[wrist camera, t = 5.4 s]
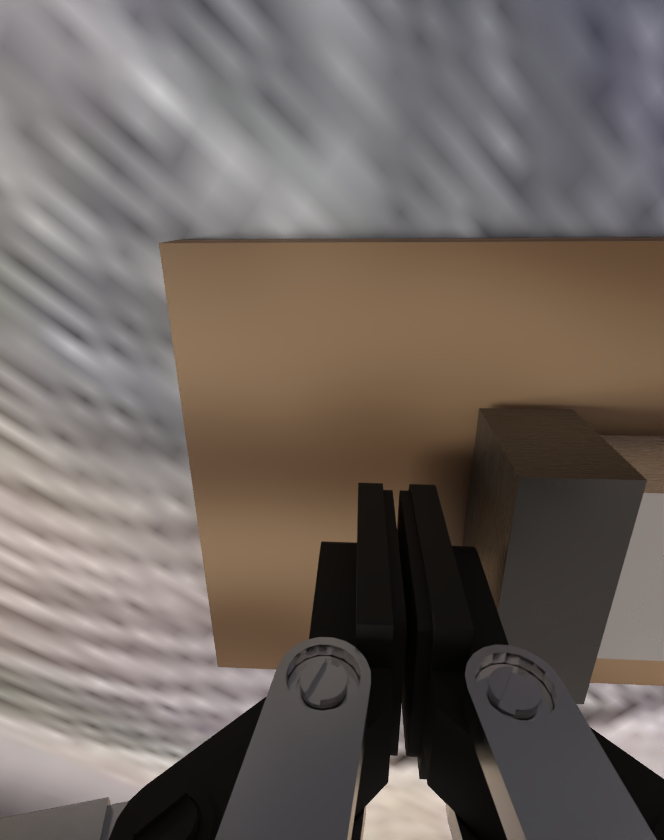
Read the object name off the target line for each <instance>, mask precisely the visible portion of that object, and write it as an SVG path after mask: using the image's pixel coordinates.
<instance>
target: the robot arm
mask: <svg viewBox="0 0 664 840" xmlns="http://www.w3.org/2000/svg"><path fill="white" fill-rule="evenodd" d="M401 703H402V713H403V725H404V738H405V749H406V755H407V756H410V757H417V758H418V768H419V778H420V779H427V784H428V786H429V787H430V788H431V789H432V790H433V791H434V792H435V793H436V794H437V795H438V796H439V797H440V798H441V799H442V800H443V801H444V802H445V803H446V812H447V819H448V824H449V827H450V831H451V835H452V838H453V840H664V779H663V778H661V777H660V776H659V775H657V774H656V773H654V772H653V771H652V770H650V769H649V768H647V767H646V766H644V765H643V764H642V763H640V762H639V761H637V760H636V759H634V758H633V757H632V756H630V755H629V754H627V753H626V752H624V751H623V750H622V749H620V748H619V747H617V746H616V745H615V744H613V743H612V742H610V741H609V740H607V739H606V738H605V737H603V736H602V735H600V734H599V733H597V732H596V731H595V730H593V729H592V728H590V727H589V725H588V723H587V722H586V720H585V718H584V716H583V715H582V713H581V711H580V710H579V708H578V706H577V705H576V703H575V701H574V700H573V698H572V696H571V695H570V693H569V691H568V690H567V688H566V686H565V684H564V683H563V681H562V680H561V678H560V677H559V676H558V674H557V673H556V672H555V671H554V669H553V668H552V667H551V666H550V665H548V664H547V663H546V662H545V661H544V660H542V659H541V658H540V657H538V656H536V655H535V654H533V653H531V652H529V651H527V650H525V649H522V648H518V647H515V646H511V645H509V644H508V641H507V638H506V635H505V632H504V629H503V626H502V623H501V620H500V617H499V614H498V611H497V608H496V605H495V602H494V599H493V596H492V593H491V590H490V587H489V584H488V581H487V578H486V575H485V573H484V570H483V567H482V564H481V561H480V558H479V555H478V552H477V550H476V548H475V547H473V546H452V545H451V541H450V537H449V533H448V530H447V526H446V522H445V518H444V515H443V511H442V507H441V503H440V500H439V496H438V492H437V488H436V486H435V485H427V484H410V485H409V490H408V491H405V490H400V492H399V505H398V522H397V525H396V516H395V507H394V497H393V490H383V483H358V517H357V543H354V542H323V541H322V542H321V546H320V554H319V562H318V570H317V578H316V586H315V594H314V602H313V610H312V618H311V626H310V634H309V639H308V640H305V641H303V642H301V643H299V644H297V645H295V646H293V647H292V648H291V649H290V650H289V651H288V652H287V653H286V654H285V655H284V656H283V658H282V660H281V662H280V663H279V665H278V667H277V670H276V672H275V675H274V678H273V681H272V683H271V686H270V689H269V692H268V695H267V697H265V698H264V699H262V700H261V701H260V702H258V703H257V704H256V705H254V706H253V707H252V708H250V709H249V710H248V711H246V712H245V713H243V714H242V715H241V716H239V717H238V718H237V719H235V720H234V721H233V722H231V723H230V724H229V725H227V726H226V727H224V728H223V729H222V730H220V731H219V732H218V733H216V734H215V735H214V736H212V737H211V738H210V739H208V740H207V741H205V742H204V743H203V744H201V745H200V746H199V747H197V748H196V749H195V750H193V751H192V752H191V753H189V754H188V755H186V756H185V757H184V758H182V759H181V760H180V761H178V762H177V763H176V764H174V765H173V766H172V767H170V768H169V769H167V770H166V771H165V772H163V773H162V774H161V775H159V776H158V777H157V778H155V779H154V780H153V781H151V782H150V783H148V784H147V785H146V786H145V787H143V788H142V789H141V790H140V791H139V792H138V793H137V794H136V795H135V796H134V797H133V798H132V799H131V800H130V801H127V802H122V803H117V804H112V805H111V804H110V800H109V797H107V798H102V799H97V800H92V801H87V802H82V803H77V804H71V805H66V806H61V807H56V808H51V809H46V810H41V811H35V812H30V813H25V814H20V815H15V816H10V817H5V818H0V840H363V832H364V824H365V816H366V805H367V804H368V803H369V802H370V801H371V800H372V799H373V798H374V797H375V796H376V795H377V793H378V792H379V791H380V790H381V789H382V788H383V787H384V786H385V785H386V784H387V783H388V776H389V761H390V755H393V756H397V754H398V742H399V729H400V716H401Z"/></svg>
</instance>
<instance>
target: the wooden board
mask: <svg viewBox="0 0 664 840" xmlns="http://www.w3.org/2000/svg"><path fill="white" fill-rule="evenodd" d="M159 247H160V254H161V262H162V269H163V276H164V283H165V290H166V297H167V305H168V312H169V319H170V326H171V333H172V340H173V348H174V355H175V362H176V369H177V376H178V384H179V391H180V398H181V405H182V412H183V419H184V427H185V434H186V441H187V448H188V455H189V462H190V470H191V477H192V484H193V491H194V498H195V505H196V513H197V520H198V527H199V534H200V541H201V549H202V556H203V563H204V570H205V577H206V584H207V592H208V599H209V606H210V613H211V620H212V627H213V635H214V642H215V649H216V656H217V663H218V667H234V668H258V669H277V667H278V665H279V663H280V662H281V660H282V658H283V656H284V655H285V654H286V653H287V652H288V651H289V650H290V649H291V648H292V647H293V646H295V645H297V644H299V643H301V642H303V641H305V640H308V639H309V634H310V626H311V618H312V610H313V602H314V594H315V586H316V578H317V570H318V562H319V554H320V546H321V542H322V541H323V542H354V543H357V517H358V483H383V490H393V497H394V507H395V516H396V525H397V522H398V505H399V492H400V490H405V491H408V490H409V485H410V484H427V485H435V486H436V488H437V492H438V496H439V500H440V503H441V507H442V511H443V515H444V518H445V522H446V526H447V530H448V533H449V537H450V541H451V545H452V546H463V538H464V530H465V521H466V513H467V505H468V496H469V488H470V480H471V471H472V463H473V455H474V446H475V438H476V430H477V421H478V413H479V408H503V409H573V410H574V411H575V412H576V413H577V414H578V415H579V416H581V417H582V418H583V419H584V420H585V421H586V422H587V423H588V424H589V425H590V426H591V427H592V428H593V429H594V430H595V431H596V432H597V433H598V434H599V435H623V436H664V237H606V238H412V239H217V240H174V241H169V242H163V243H159ZM590 683H611V684H635V685H659V686H664V661H650V660H625V659H600V658H597V659H596V662H595V666H594V669H593V673H592V676H591V680H590Z"/></svg>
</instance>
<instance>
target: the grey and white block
mask: <svg viewBox="0 0 664 840" xmlns="http://www.w3.org/2000/svg"><path fill="white" fill-rule="evenodd" d="M463 546H473V547H475V548H476V550H477V552H478V555H479V558H480V561H481V564H482V567H483V570H484V573H485V575H486V578H487V581H488V584H489V587H490V590H491V593H492V596H493V599H494V602H495V605H496V608H497V611H498V614H499V617H500V620H501V623H502V626H503V629H504V632H505V635H506V638H507V641H508V644H509V645H511V646H515V647H518V648H522V649H525V650H527V651H529V652H531V653H533V654H535V655H536V656H538V657H540V658H541V659H542V660H544V661H545V662H546V663H547V664H548V665H550V666H551V667H552V668H553V669H554V671H555V672H556V673H557V674H558V676H559V677H560V678H561V680H562V681H563V683H564V684H565V686H566V688H567V690H568V691H569V693H570V695H571V696H572V698H573V700H574V701H575V703H576V704H584V701H585V697H586V694H587V690H588V687H589V683H590V680H591V676H592V673H593V669H594V666H595V662H596V659H597V658H600V659H625V660H650V661H664V436H623V435H599V434H598V433H597V432H596V431H595V430H594V429H593V428H592V427H591V426H590V425H589V424H588V423H587V422H586V421H585V420H584V419H583V418H582V417H581V416H579V415H578V414H577V413H576V412H575V411H574V410H573V409H503V408H479V413H478V421H477V430H476V438H475V446H474V455H473V463H472V471H471V480H470V488H469V496H468V505H467V513H466V521H465V530H464V538H463Z"/></svg>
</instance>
